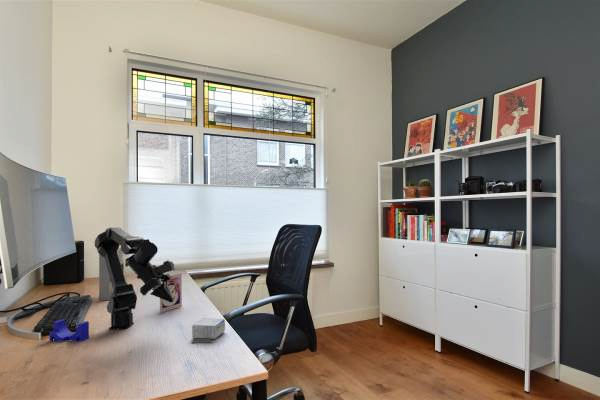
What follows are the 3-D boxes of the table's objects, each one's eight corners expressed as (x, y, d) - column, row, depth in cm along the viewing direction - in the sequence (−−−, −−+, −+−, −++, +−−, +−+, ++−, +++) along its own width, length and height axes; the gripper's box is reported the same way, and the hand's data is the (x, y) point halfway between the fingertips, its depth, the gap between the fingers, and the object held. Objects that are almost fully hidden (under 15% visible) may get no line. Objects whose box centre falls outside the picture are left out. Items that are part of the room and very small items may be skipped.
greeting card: (161, 312, 145) (161, 277, 145) (150, 310, 149) (150, 276, 149) (183, 306, 155) (182, 273, 155) (172, 304, 158) (172, 272, 159)
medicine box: (191, 338, 113) (215, 339, 112) (191, 324, 114) (215, 325, 112) (202, 330, 121) (225, 331, 119) (202, 317, 121) (225, 318, 120)
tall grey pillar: (110, 300, 168) (110, 250, 169) (98, 300, 169) (98, 250, 170) (125, 293, 182) (125, 247, 183) (114, 293, 182) (114, 247, 183)
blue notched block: (49, 341, 115) (49, 323, 115) (61, 336, 119) (61, 319, 120) (77, 344, 112) (77, 325, 112) (88, 339, 116) (88, 321, 116)
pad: (191, 343, 110) (191, 342, 110) (203, 328, 124) (203, 327, 124) (209, 342, 110) (209, 341, 110) (220, 327, 124) (219, 327, 124)
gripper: (154, 254, 111) (185, 289, 111) (168, 252, 130) (195, 282, 130) (126, 277, 109) (157, 313, 109) (144, 272, 128) (172, 303, 128)
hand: (172, 301), depth 119 cm, fingers closed
